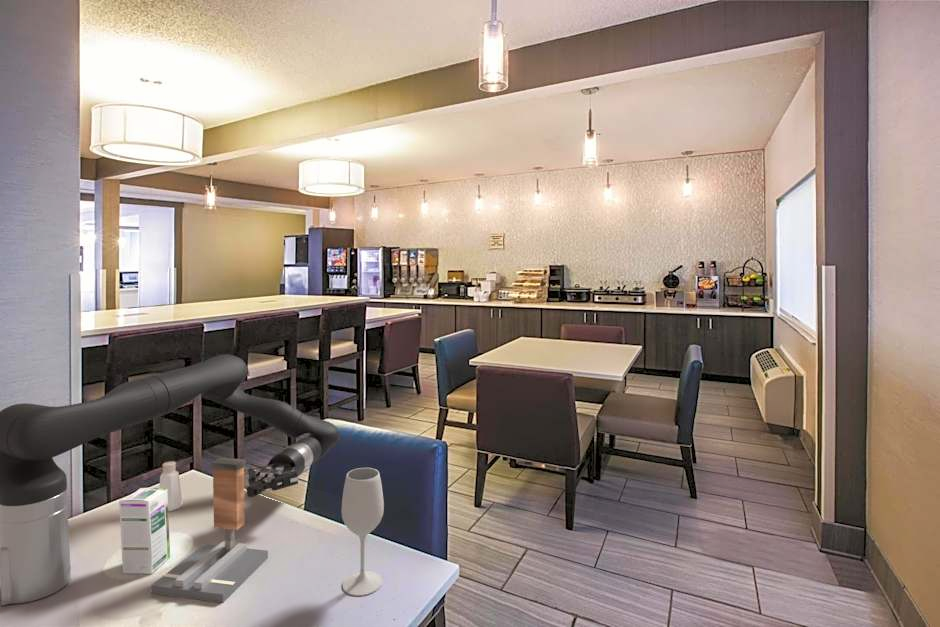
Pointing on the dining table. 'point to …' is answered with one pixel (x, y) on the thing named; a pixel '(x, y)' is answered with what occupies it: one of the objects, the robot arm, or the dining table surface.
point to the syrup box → (144, 530)
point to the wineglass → (362, 522)
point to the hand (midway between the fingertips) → (250, 492)
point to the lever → (228, 497)
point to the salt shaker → (171, 485)
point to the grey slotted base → (210, 572)
